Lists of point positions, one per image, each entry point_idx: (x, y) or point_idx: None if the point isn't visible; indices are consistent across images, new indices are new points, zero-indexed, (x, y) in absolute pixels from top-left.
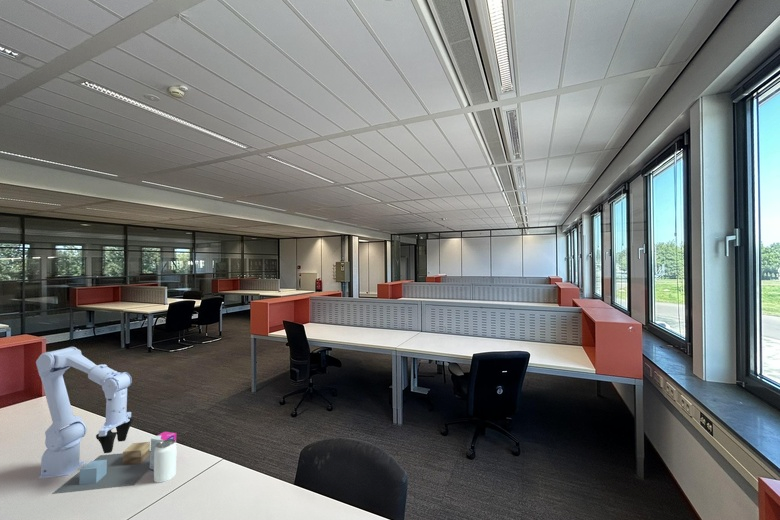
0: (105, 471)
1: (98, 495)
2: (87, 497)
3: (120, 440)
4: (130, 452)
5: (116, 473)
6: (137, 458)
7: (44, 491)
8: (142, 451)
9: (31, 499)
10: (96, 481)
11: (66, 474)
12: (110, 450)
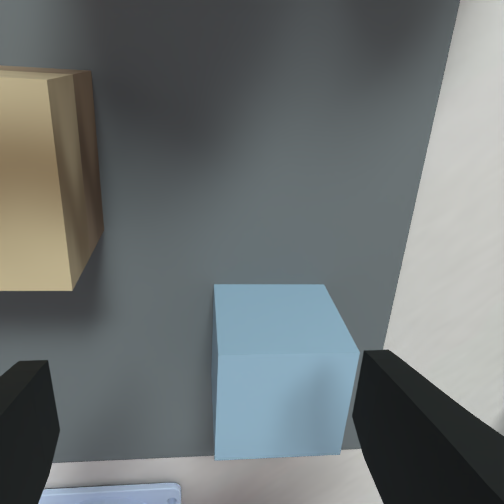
0: (228, 297)
1: (480, 184)
2: (472, 243)
3: (50, 417)
4: (67, 207)
5: (226, 211)
6: (80, 110)
7: (310, 490)
8: (18, 74)
9: (366, 496)
10: (324, 289)
11: (178, 499)
12: (412, 370)
